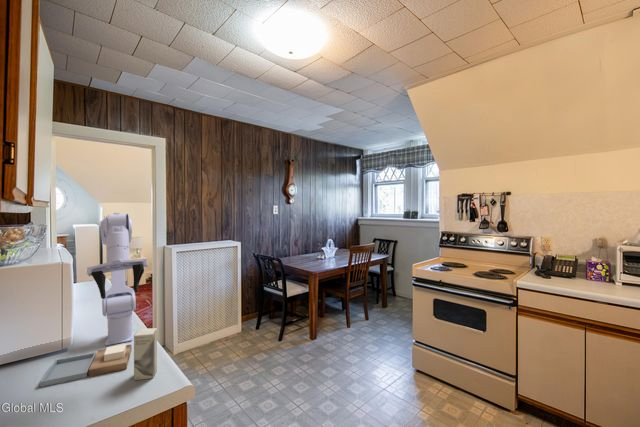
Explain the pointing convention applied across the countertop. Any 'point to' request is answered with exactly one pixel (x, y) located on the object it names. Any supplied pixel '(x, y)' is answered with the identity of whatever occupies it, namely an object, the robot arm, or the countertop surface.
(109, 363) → the plate
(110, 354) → the tile
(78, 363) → the tray
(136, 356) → the box
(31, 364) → the countertop surface
